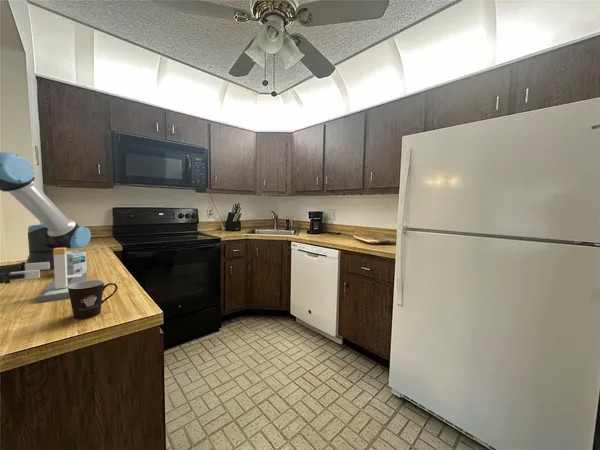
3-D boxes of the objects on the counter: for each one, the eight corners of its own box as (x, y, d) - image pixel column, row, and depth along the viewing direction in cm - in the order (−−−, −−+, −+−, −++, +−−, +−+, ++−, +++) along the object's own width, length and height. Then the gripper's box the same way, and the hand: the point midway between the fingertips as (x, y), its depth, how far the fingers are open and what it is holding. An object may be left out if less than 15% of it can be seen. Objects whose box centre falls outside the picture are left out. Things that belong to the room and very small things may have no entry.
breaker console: (57, 280, 107) (57, 275, 107) (87, 277, 113) (86, 273, 113) (37, 302, 85) (37, 296, 84) (76, 297, 90) (75, 291, 90)
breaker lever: (57, 286, 93) (55, 247, 92) (67, 285, 95) (66, 247, 94) (55, 289, 91) (53, 249, 90) (66, 287, 93) (64, 248, 91)
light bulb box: (87, 272, 121) (86, 251, 120) (73, 276, 114) (72, 254, 113) (68, 271, 122) (67, 250, 121) (53, 275, 115) (52, 253, 114)
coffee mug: (64, 323, 71) (62, 290, 70) (74, 311, 79) (73, 281, 78) (113, 316, 76) (112, 285, 76) (118, 305, 84) (117, 277, 83)
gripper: (-29, 278, 88) (53, 271, 100) (-75, 302, 68) (34, 289, 80) (-30, 258, 87) (52, 253, 100) (-78, 276, 67) (33, 266, 79)
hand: (44, 269), depth 90 cm, fingers open, 13 cm apart
